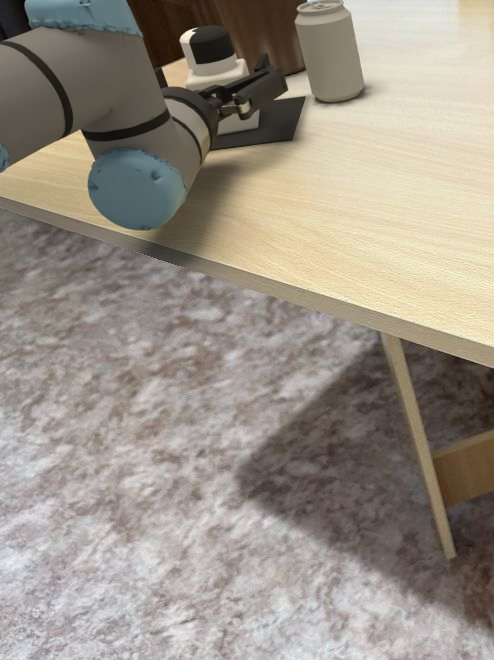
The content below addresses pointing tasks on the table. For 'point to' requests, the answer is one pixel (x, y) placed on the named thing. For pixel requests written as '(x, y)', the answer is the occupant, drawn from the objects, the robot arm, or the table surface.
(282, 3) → the plant pot
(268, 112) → the mat
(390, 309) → the table surface
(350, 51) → the can
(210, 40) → the medicine bottle
